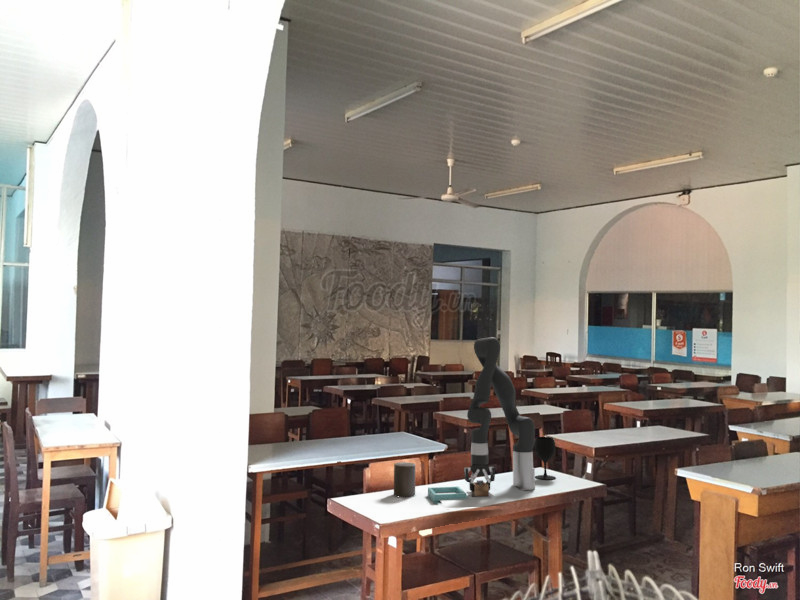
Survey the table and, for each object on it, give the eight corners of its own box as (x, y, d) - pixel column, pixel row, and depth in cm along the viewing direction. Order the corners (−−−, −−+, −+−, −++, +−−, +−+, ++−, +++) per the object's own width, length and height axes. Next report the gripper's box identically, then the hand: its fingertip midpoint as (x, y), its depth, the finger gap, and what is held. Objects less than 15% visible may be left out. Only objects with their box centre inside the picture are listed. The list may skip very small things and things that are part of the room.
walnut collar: (484, 492, 284) (484, 481, 285) (488, 495, 278) (488, 484, 279) (471, 492, 283) (471, 482, 284) (475, 495, 277) (475, 485, 278)
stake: (487, 494, 287) (487, 477, 287) (494, 499, 277) (494, 482, 277) (466, 495, 285) (465, 478, 285) (472, 500, 275) (472, 483, 276)
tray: (458, 494, 286) (458, 486, 287) (466, 502, 273) (466, 493, 273) (427, 495, 284) (427, 487, 284) (434, 503, 270) (434, 495, 271)
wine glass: (560, 478, 319) (559, 438, 321) (544, 481, 314) (544, 440, 316) (545, 475, 328) (545, 435, 330) (530, 477, 323) (530, 437, 324)
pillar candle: (395, 498, 280) (396, 463, 281) (391, 492, 289) (392, 459, 290) (417, 497, 282) (417, 462, 283) (412, 492, 291) (413, 458, 292)
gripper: (492, 451, 287) (493, 488, 286) (461, 451, 285) (461, 489, 284) (497, 453, 280) (498, 492, 278) (466, 454, 277) (466, 493, 276)
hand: (479, 491), depth 281 cm, fingers open, 6 cm apart
